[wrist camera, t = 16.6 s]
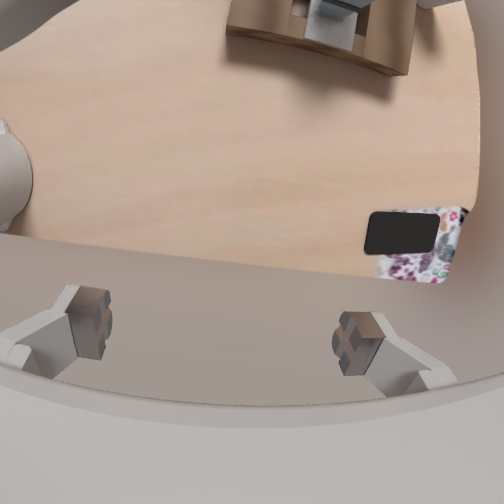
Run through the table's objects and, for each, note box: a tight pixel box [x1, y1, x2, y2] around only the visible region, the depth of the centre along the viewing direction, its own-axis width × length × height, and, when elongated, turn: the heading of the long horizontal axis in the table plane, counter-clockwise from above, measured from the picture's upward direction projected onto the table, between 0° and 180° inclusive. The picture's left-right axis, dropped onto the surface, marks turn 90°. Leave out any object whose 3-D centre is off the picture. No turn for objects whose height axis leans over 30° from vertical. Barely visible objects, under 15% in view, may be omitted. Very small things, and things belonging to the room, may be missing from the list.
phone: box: [364, 212, 440, 254], centre depth 49 cm, size 7×1×15 cm
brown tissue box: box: [226, 0, 417, 76], centre depth 30 cm, size 24×14×5 cm, turn 80°
